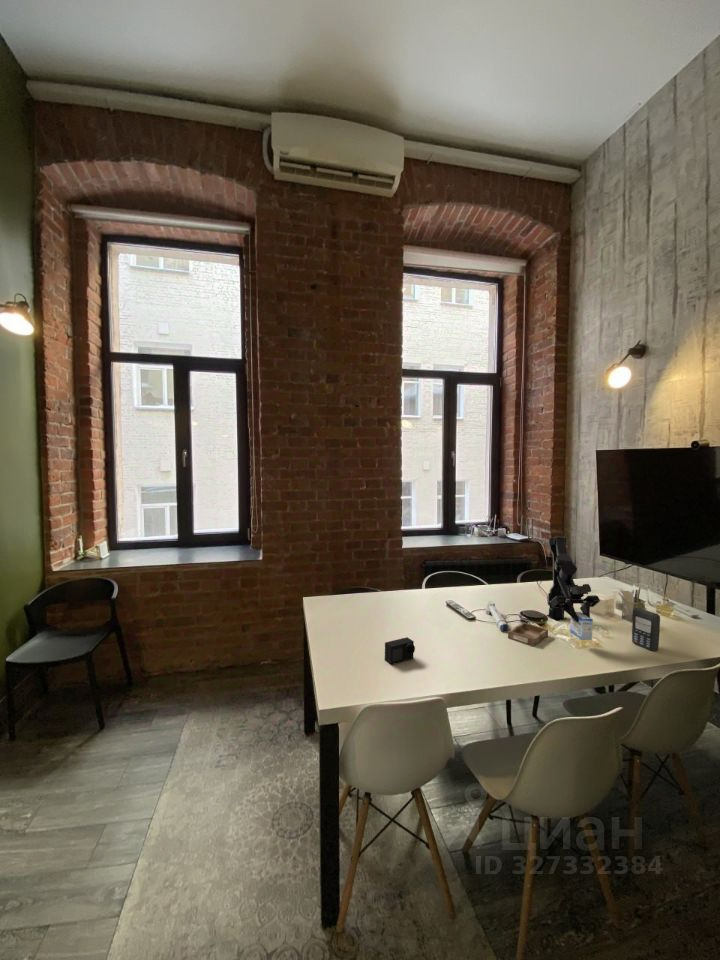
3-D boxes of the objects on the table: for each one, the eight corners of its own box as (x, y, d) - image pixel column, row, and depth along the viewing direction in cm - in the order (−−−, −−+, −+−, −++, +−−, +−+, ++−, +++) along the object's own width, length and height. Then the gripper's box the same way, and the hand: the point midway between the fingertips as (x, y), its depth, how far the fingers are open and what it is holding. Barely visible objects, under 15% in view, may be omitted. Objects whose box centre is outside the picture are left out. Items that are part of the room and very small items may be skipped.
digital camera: (392, 666, 147) (392, 648, 146) (384, 660, 151) (384, 642, 151) (415, 660, 152) (415, 642, 151) (406, 654, 156) (407, 636, 156)
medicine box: (569, 632, 168) (570, 611, 167) (579, 631, 168) (580, 611, 168) (581, 640, 160) (582, 619, 160) (592, 640, 160) (593, 618, 160)
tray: (523, 628, 183) (523, 622, 183) (547, 636, 175) (548, 629, 175) (507, 638, 173) (507, 631, 172) (533, 646, 165) (533, 639, 165)
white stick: (498, 623, 179) (484, 597, 204) (497, 637, 180) (483, 609, 205) (510, 624, 179) (494, 597, 204) (509, 638, 180) (493, 610, 205)
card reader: (629, 643, 170) (631, 608, 169) (636, 641, 172) (637, 606, 171) (653, 652, 162) (654, 615, 161) (659, 650, 163) (660, 614, 163)
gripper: (555, 576, 166) (571, 613, 156) (598, 576, 168) (616, 612, 157) (544, 589, 174) (558, 625, 164) (585, 589, 176) (601, 624, 166)
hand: (583, 621), depth 162 cm, fingers closed on medicine box, 4 cm apart
